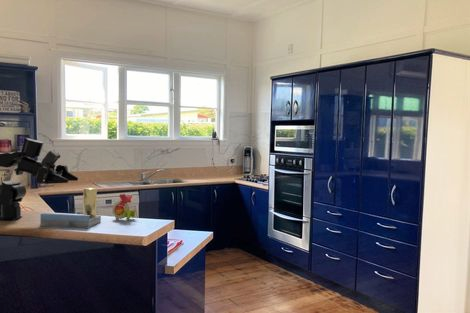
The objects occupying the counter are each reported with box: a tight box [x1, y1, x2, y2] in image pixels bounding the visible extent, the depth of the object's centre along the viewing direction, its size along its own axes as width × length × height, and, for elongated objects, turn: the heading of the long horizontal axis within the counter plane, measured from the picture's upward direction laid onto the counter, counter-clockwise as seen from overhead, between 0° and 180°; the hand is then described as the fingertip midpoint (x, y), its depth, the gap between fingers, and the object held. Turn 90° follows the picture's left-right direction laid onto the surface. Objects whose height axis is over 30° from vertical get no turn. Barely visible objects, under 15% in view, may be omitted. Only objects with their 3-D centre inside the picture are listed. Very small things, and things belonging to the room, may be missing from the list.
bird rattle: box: [112, 193, 137, 222], centre depth 155 cm, size 6×11×9 cm
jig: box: [40, 212, 102, 229], centre depth 145 cm, size 18×11×4 cm, turn 87°
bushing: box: [82, 187, 98, 215], centre depth 153 cm, size 5×5×12 cm
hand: (73, 180), depth 150 cm, fingers open, 9 cm apart
